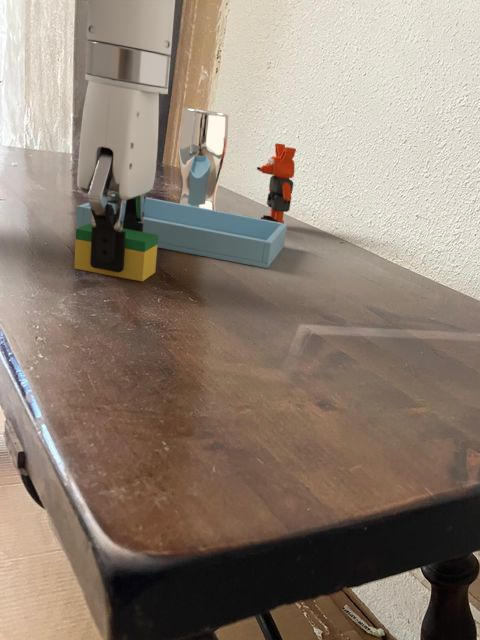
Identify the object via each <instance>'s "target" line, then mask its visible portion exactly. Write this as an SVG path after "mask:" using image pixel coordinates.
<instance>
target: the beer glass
mask: <svg viewBox="0 0 480 640" xmlns="http://www.w3.org/2000/svg"><path fill="white" fill-rule="evenodd" d="M229 128H230V115H228V114H226V113H221V112H216V111H211V110H205V109H201V108H193V107H183V110H182V116H181V122H180V127H179V137H178V164H179V177H180V192H179V199H178V203H179V204H184V205H189V206H195V207H200V208H205V209H210V210H216V211H217V207H216V205H217V204H216V200H217V192H218V188H219V184H220V181H221V177H222V174H223V170H224V166H225V162H226V157H227V153H228V147H229V146H228V145H229V132H230V131H229V130H230V129H229Z"/></svg>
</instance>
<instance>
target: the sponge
mask: <svg viewBox="0 0 480 640" xmlns="http://www.w3.org/2000/svg"><path fill="white" fill-rule="evenodd" d="M122 231H125V232H126V240H125V255H124V269H123V271H121V272H113V271H108V270H103V269H98V268H93V267H92V266H91V264H90V259H91V237H92V226H91V223H90V224H87V225H85V226H82V227H80V228H77V229H76V228H75V245H74V246H75V248H74V269H75V270H80V271H84V272H89V273H95V274H101V275H104V276H105V275H106V276H111V277H116V278H120V279H126V280H131V281H138V282H144V281H146V280H147V279H148V278H150V277H151V276H153V275H154V274H155V273H156V267H157V257H158V247H157V244H158V235H156V234H151V233H145V232H140V231H135V230H130V229H124V228H122Z"/></svg>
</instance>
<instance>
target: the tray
mask: <svg viewBox="0 0 480 640" xmlns="http://www.w3.org/2000/svg"><path fill="white" fill-rule="evenodd" d="M110 196H115V193H114V194H111V195H110ZM145 197H146V199H145V203H144V221H143V222H139V223H143V232H145V233H151V234H156V235H158V244H157V249H163V250H169V251H174V252H179V253H183V254H189V255H194V256H199V257H206V258H211V259H214V260H215V259H216V260H222V261H226V262H231V263H237V264H243V265H247V266H252V267H257V268H258V267H259V268H263V269H269V267H270V266H271V264H272V263H273V261H275V259H276V258H277V257H278V255H279V254H280V252H281V251H282V250H283V248H284V247H285V243H286V242H285V241H286V237H287V230H288V224H287V223H285V222H284V223H279V222H274V221H268V220H263V219H261V218H257V217H252V216H246V215H241V214H236V213H231V212H226V211H220V210H217V209H216V210H210V209H205V208H200V207H195V206H189V205H184V204H179V202H173V201H168V200H163V199H158V198H153V197H152V198H151V197H147V196H145ZM108 204H110V205H112V206H113V209H114V212H115V204H112V203H108ZM91 218H92V211H91V206H90V204H89V202H88V201H87V202H86V203H83V204H79V205H77V206H76V220H75V221H76V223H75V225H76V227H75V230H76V229H77V228H80V227H82V226H85V225H87V224H90V223H91Z"/></svg>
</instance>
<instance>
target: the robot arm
mask: <svg viewBox="0 0 480 640" xmlns="http://www.w3.org/2000/svg"><path fill="white" fill-rule="evenodd" d="M77 1H83V2H85V1H87V20H86V23H87V25H86V47H85V51H86V52H85V72H84V80H85V81H88V83H87V88H86V92H85V98H84V103H83V109H82V110H83V111H82V118H81V125H80V126H81V127H80V137H79V148H78V161H77V175H76V186H77V188H78V190H79V192H81V193H82V194H87V203H88V202H89V204H90V206H91V211H92V218H91V226H92V237H91V259H90V264H91V266H92V267H93V268H98V269H103V270H108V271H113V272H121V271H123V269H124V255H125V240H126V232H125V231H122V228H124V229H130V230H135V231H140V232H143V223H139V222H143V221H144V203H145V199H146V197H147V196H146V194H147V193H149V192H151V191H152V189H153V187H154V185H155V180H156V173H157V162H158V148H159V147H158V146H159V119H160V118H159V117H160V110H159V109H160V95H169V83H170V82H169V81H170V71H171V56H172V47H173V46H172V45H173V33H174V32H173V31H174V19H175V8H176V0H77ZM109 191H111V192H114V194H115V196H111V195H109V194H108V192H109ZM108 203H112V204H115V212H114V209H113V206H112V205H110V204H108Z"/></svg>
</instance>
